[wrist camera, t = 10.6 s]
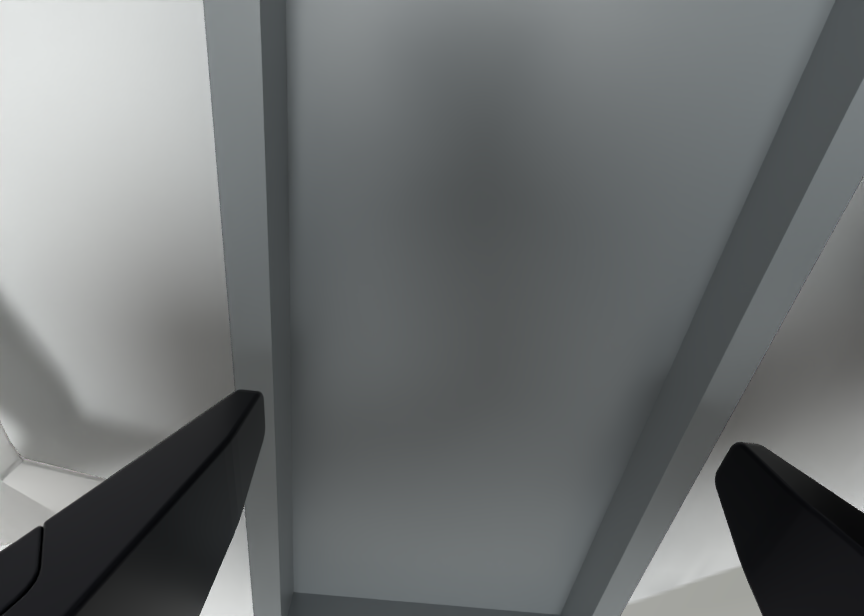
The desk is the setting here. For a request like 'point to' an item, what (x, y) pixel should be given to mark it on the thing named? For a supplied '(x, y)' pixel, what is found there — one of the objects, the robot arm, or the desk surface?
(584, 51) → the razor tray
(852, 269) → the desk surface
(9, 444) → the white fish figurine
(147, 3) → the desk surface
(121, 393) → the desk surface
